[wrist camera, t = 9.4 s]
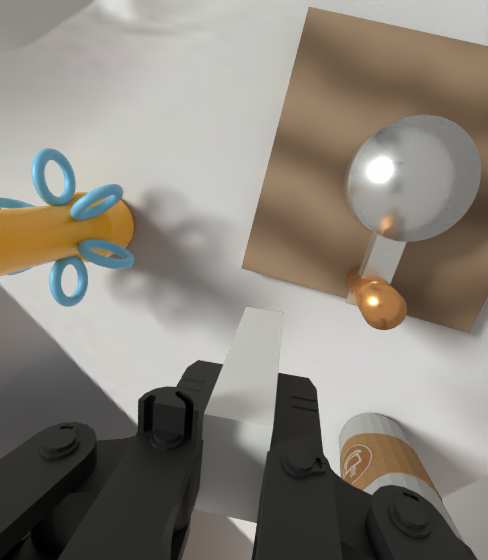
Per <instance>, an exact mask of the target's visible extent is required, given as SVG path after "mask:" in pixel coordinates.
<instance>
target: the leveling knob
mask: <svg viewBox="0 0 488 560" xmlns="http://www.w3.org/2000/svg"><path fill="white" fill-rule="evenodd" d="M480 180H481V161H480V156H479V153H478V150H477V147H476V145H475V143H474V142H473V140H472V138H471V137H470V136H469V134H468V133H467V132H466V131H465V130H464V129H463V128H462V127H460V126H459V125H457V124H456V123H454V122H452V121H450V120H448V119H446V118H443V117H439V116H434V115H414V116H409V117H405V118H402V119H399V120H397V121H394V122H392V123H390V124H389V125H387V126H385V127H384V128H382V129H381V130H379V131H378V132H377V133H375V134H374V135H373V136H371V137H370V138H368V139H367V140H366V141H365V142H364V143H362V144H361V145H360V146H359V148H358V149H357V150H356V151H355V152H354V154H353V155H352V157H351V159H350V161H349V162H348V165H347V167H346V170H345V174H344V179H343V195H344V199H345V203H346V205H347V208H348V210H349V212H350V213H351V215H352V216H353V217H354V218H355V220H356V221H357V222H359V223H360V224H361V225H362V226H364V227H365V228H367V229H369V230H371V231H373V234H372V236H371V239H370V242H369V245H368V247H367V250H366V253H365V256H364V259H363V261H362V264H361V265H357V266H355V267H353V268H352V269H350V270H349V272H348V273H347V275H346V285H347V287H348V289H349V291H350V293H351V295H352V297H353V298H354V300H355V302H356V304H357V306H358V308H359V309H360V311H361V313H362V315H363V317H364V319H365V320H366V322H367V323H368V324H369V325H370V326H372V327H374V328H376V329H380V330H388V329H392V328H395V327H396V326H398V325H399V324H400V323H401V322H402V321H403V320H404V319H405V317H406V314H407V305H406V302H405V300H404V298H403V297H402V296H401V295H400V294H399V293H398V292H397V291H396V290H395V289H394V288H393V287H392V286H391V285H390V283H391V281H392V278H393V275H394V273H395V270H396V268H397V265H398V263H399V260H400V258H401V255H402V252H403V250H404V247H405V245H406V242H414V241H421V240H425V239H429V238H432V237H434V236H437V235H439V234H441V233H443V232H444V231H446V230H448V229H449V228H450V227H452V226H453V225H454V224H456V223H457V222H458V221H459V220H460V219H461V218H462V217H463V215H464V214H465V213H466V212H467V211H468V209H469V208H470V206H471V205H472V203H473V201H474V199H475V197H476V194H477V191H478V189H479V184H480Z"/></svg>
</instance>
